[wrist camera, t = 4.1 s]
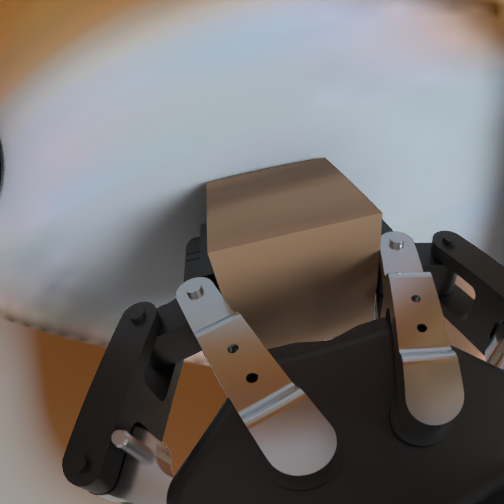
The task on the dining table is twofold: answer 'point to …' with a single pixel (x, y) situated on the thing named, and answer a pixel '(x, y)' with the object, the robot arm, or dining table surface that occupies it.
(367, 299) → the walnut cube
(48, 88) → the dining table surface
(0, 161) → the supplement container
